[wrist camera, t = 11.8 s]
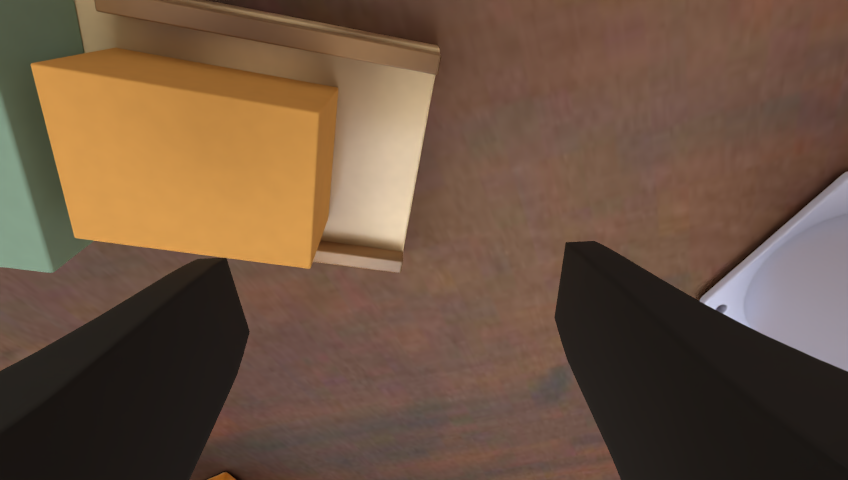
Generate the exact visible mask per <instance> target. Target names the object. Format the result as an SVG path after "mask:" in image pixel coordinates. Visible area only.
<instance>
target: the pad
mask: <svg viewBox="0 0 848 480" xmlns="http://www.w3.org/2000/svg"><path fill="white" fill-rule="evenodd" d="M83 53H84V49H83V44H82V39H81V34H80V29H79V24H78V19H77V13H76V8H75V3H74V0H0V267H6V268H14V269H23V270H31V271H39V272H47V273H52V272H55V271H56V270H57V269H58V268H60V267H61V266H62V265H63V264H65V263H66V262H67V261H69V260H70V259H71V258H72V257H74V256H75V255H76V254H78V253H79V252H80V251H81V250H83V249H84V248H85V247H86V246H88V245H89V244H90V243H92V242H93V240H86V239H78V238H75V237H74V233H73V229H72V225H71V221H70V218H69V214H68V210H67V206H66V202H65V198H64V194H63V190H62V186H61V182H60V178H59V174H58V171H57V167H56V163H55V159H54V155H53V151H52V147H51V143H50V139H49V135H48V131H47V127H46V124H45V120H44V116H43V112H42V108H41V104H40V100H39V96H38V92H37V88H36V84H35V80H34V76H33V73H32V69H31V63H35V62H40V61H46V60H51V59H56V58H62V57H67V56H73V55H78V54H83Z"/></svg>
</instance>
